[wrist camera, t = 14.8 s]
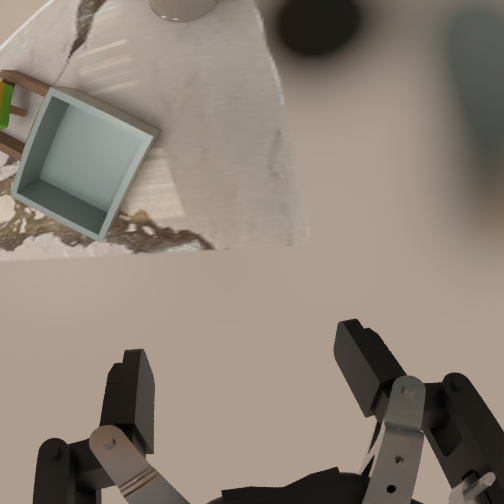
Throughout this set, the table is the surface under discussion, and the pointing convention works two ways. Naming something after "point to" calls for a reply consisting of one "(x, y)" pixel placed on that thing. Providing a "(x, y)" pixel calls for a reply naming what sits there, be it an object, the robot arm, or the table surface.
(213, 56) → the table surface
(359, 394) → the robot arm
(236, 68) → the table surface
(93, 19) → the table surface
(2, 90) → the popsicle
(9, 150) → the collar
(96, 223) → the bin
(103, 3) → the table surface
